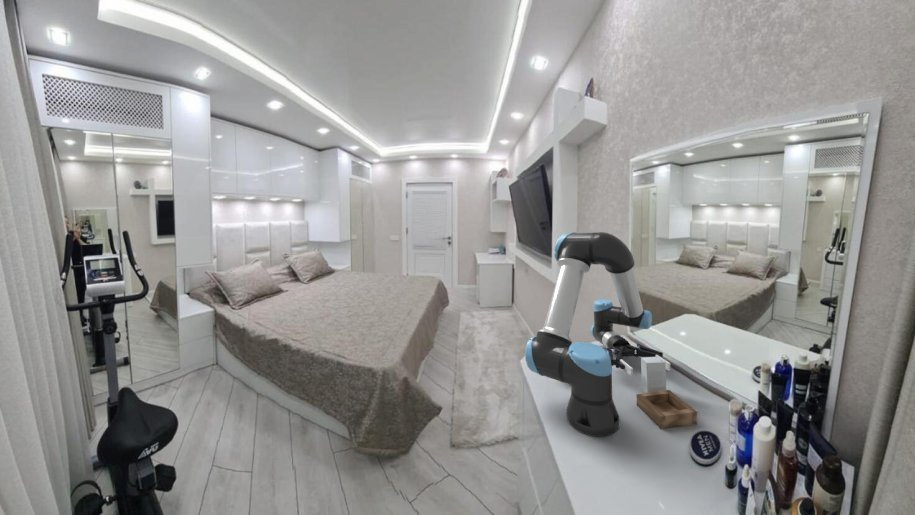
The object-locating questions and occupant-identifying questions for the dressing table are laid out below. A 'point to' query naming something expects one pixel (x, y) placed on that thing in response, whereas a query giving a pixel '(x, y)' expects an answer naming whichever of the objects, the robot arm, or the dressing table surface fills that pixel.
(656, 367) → the skincare box
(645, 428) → the dressing table surface
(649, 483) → the dressing table surface
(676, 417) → the walnut square tray
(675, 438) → the dressing table surface
